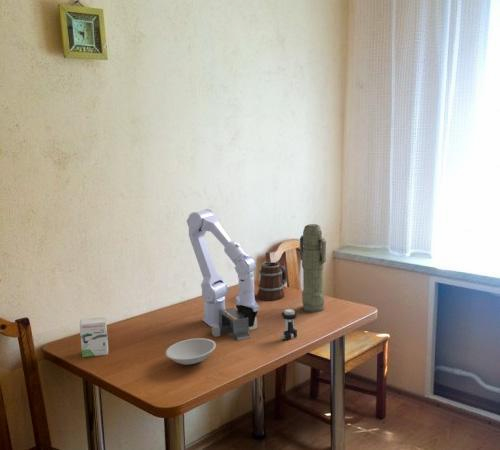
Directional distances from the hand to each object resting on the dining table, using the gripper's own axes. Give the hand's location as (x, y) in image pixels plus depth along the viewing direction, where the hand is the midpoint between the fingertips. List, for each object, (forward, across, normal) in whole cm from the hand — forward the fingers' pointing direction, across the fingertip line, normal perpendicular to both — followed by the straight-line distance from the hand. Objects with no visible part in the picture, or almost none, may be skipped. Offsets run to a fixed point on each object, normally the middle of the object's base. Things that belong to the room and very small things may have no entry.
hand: (247, 324), depth 193 cm
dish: (+2, +16, -30) cm, 34 cm away
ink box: (+2, -9, -54) cm, 55 cm away
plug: (+1, 0, -6) cm, 6 cm away
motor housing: (+1, 0, -6) cm, 6 cm away
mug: (+2, -29, +30) cm, 41 cm away
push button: (+2, +16, +7) cm, 18 cm away
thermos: (+2, -4, +34) cm, 34 cm away
